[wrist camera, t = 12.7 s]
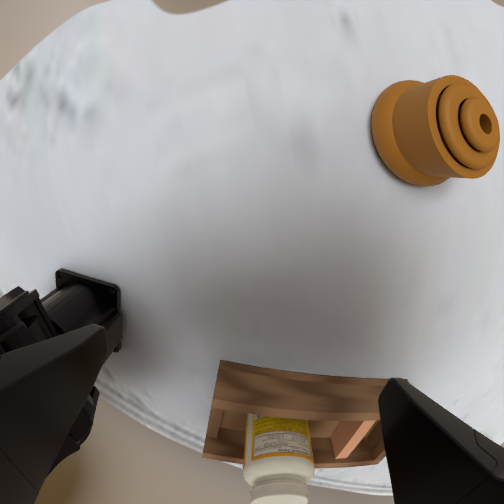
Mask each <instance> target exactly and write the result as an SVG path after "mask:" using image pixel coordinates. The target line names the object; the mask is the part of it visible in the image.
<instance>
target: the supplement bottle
mask: <svg viewBox="0 0 504 504" xmlns="http://www.w3.org/2000/svg"><path fill="white" fill-rule="evenodd" d="M314 470H315V469H314V459H313V453H312V446H311V439H310V432H309V426H308V420H304V419H291V418H280V417H271V416H262V415H255V414H248V413H247V420H246V436H245V450H244V464H243V476H244V479H245V480H246V482H247V483H248V484H249V485H251V486H252V487H253V488H252V490H251V492H250V493H251V504H307V503H308V488H307V487H306V483H308V482H309V481H310V480H311V478H312V477H313V475H314Z"/></svg>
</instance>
